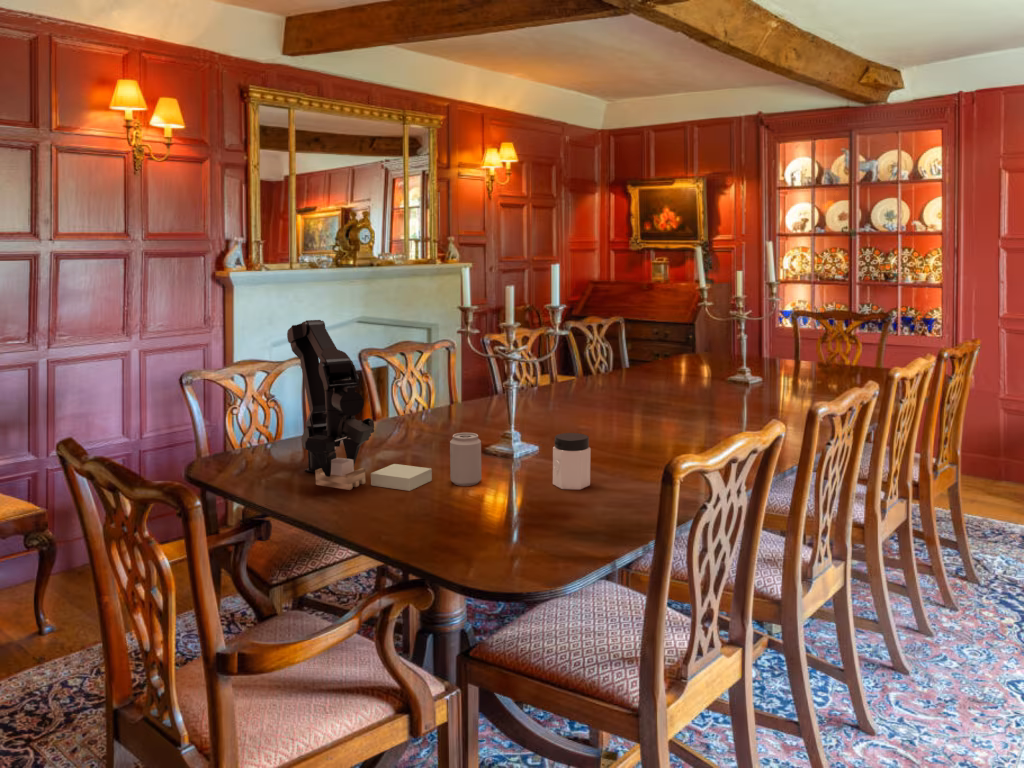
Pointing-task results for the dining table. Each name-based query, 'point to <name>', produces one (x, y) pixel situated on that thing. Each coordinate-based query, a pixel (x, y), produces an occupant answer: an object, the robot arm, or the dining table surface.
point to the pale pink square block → (341, 466)
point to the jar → (571, 461)
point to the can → (465, 459)
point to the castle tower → (341, 479)
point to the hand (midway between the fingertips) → (340, 471)
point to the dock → (401, 477)
